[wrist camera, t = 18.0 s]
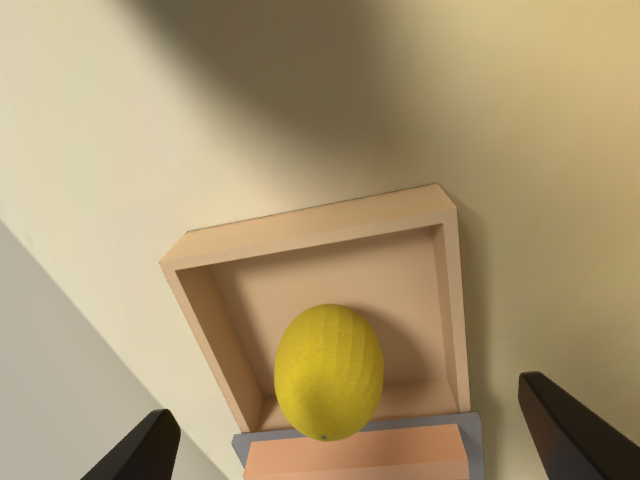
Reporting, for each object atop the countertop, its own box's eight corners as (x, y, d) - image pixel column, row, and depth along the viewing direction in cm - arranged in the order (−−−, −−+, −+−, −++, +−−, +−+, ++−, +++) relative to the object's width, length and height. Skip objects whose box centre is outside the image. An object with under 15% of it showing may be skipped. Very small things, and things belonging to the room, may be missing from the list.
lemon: (332, 259, 20) (324, 368, 13) (396, 318, 22) (420, 444, 14) (268, 312, 22) (231, 432, 15) (331, 362, 24) (324, 493, 16)
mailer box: (187, 231, 20) (158, 262, 17) (437, 182, 18) (456, 207, 15) (259, 400, 26) (247, 445, 23) (455, 379, 24) (471, 426, 21)
